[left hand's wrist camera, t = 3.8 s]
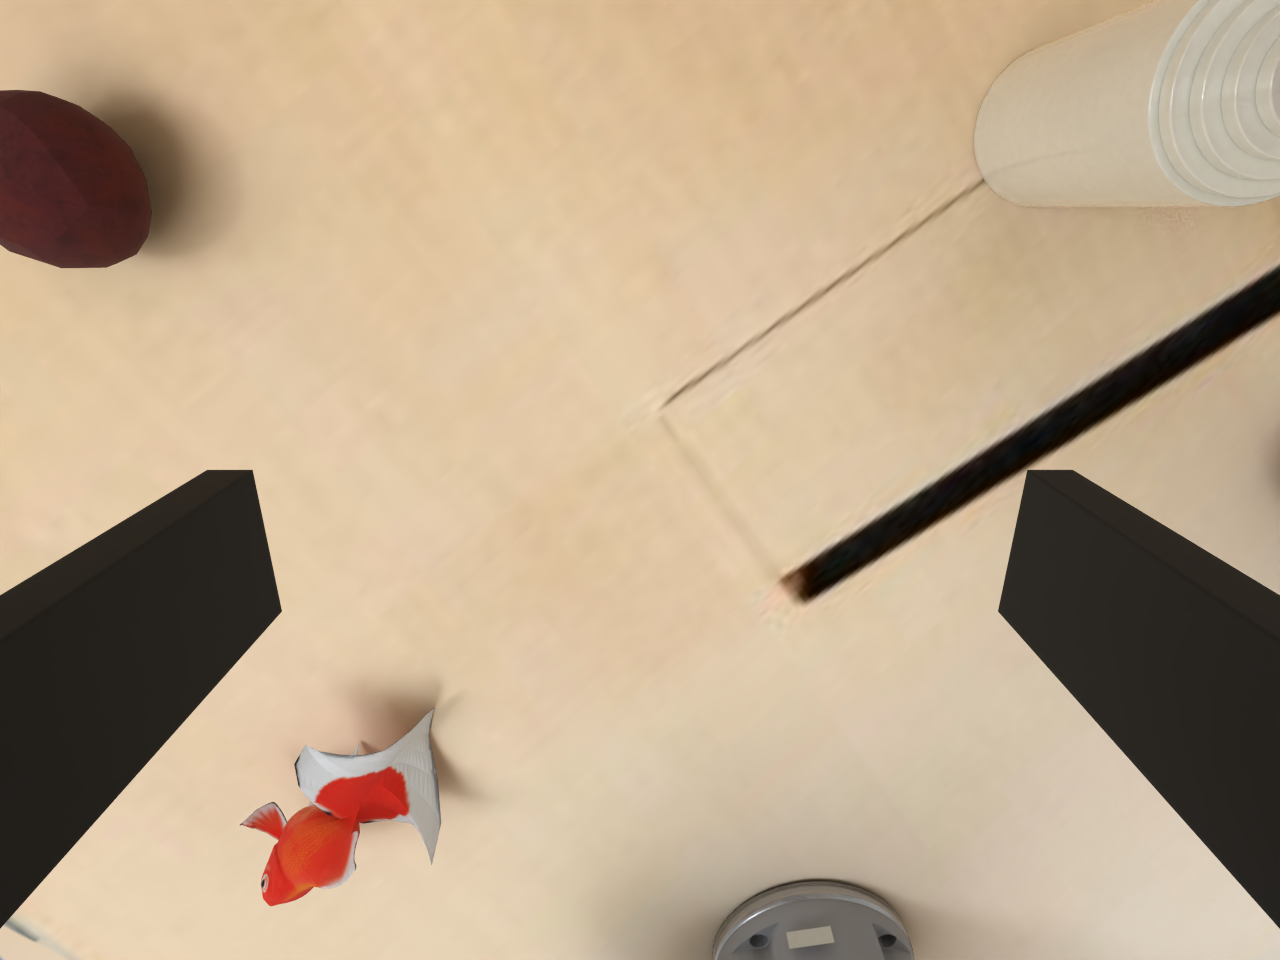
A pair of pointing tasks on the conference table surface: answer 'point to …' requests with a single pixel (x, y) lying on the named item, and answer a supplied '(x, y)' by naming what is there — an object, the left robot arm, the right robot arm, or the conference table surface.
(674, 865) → the conference table surface
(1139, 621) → the left robot arm
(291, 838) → the fish
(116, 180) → the dark red ball
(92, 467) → the conference table surface
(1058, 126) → the bottle
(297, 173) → the conference table surface
